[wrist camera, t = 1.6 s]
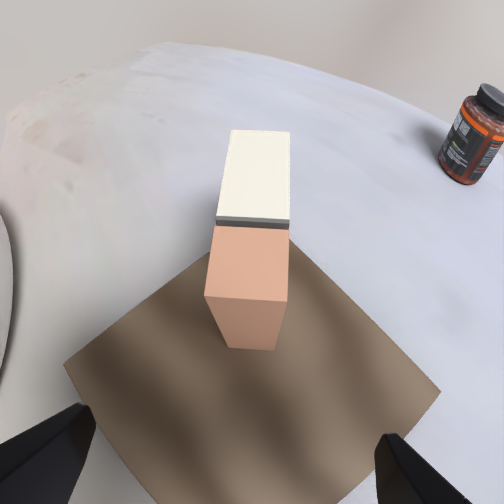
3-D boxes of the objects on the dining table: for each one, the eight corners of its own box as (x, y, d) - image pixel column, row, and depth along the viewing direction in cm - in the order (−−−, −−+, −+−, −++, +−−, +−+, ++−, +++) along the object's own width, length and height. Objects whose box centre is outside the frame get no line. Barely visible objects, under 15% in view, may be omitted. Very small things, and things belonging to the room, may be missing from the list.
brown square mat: (233, 565, 13) (231, 572, 12) (70, 366, 21) (62, 363, 20) (433, 392, 19) (441, 391, 18) (261, 221, 26) (261, 213, 25)
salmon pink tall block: (274, 350, 20) (287, 301, 11) (228, 347, 20) (203, 295, 11) (276, 308, 21) (289, 229, 13) (232, 305, 22) (214, 225, 13)
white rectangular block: (276, 305, 22) (289, 223, 13) (233, 302, 22) (215, 219, 13) (279, 234, 24) (289, 132, 15) (241, 232, 25) (231, 129, 15)
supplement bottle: (481, 171, 30) (523, 105, 20) (470, 195, 28) (519, 122, 18) (445, 142, 32) (479, 72, 22) (429, 163, 30) (468, 84, 20)
